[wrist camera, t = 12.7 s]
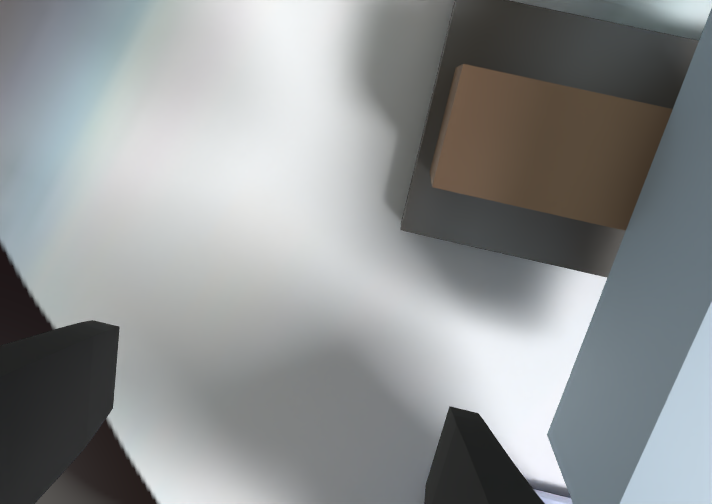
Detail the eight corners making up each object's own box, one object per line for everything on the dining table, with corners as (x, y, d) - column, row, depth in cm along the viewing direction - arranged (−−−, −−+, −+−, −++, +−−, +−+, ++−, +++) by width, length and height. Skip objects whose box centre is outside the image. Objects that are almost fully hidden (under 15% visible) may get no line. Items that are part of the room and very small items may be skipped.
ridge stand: (940, 98, 18) (1092, 102, 14) (825, 319, 20) (926, 376, 16) (456, -4, 18) (467, -29, 14) (401, 222, 21) (398, 254, 17)
